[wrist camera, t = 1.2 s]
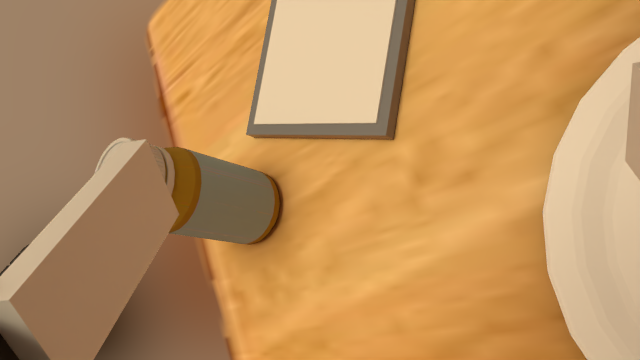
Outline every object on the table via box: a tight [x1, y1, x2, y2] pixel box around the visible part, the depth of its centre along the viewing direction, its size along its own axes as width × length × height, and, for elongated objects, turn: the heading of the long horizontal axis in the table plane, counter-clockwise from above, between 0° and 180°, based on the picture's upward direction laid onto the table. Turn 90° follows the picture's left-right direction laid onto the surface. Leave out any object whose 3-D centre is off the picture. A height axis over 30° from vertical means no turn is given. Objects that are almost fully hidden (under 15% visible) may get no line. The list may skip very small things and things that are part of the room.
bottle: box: [95, 138, 280, 244], centre depth 45 cm, size 7×7×15 cm
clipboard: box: [246, 0, 415, 139], centre depth 48 cm, size 22×16×2 cm
